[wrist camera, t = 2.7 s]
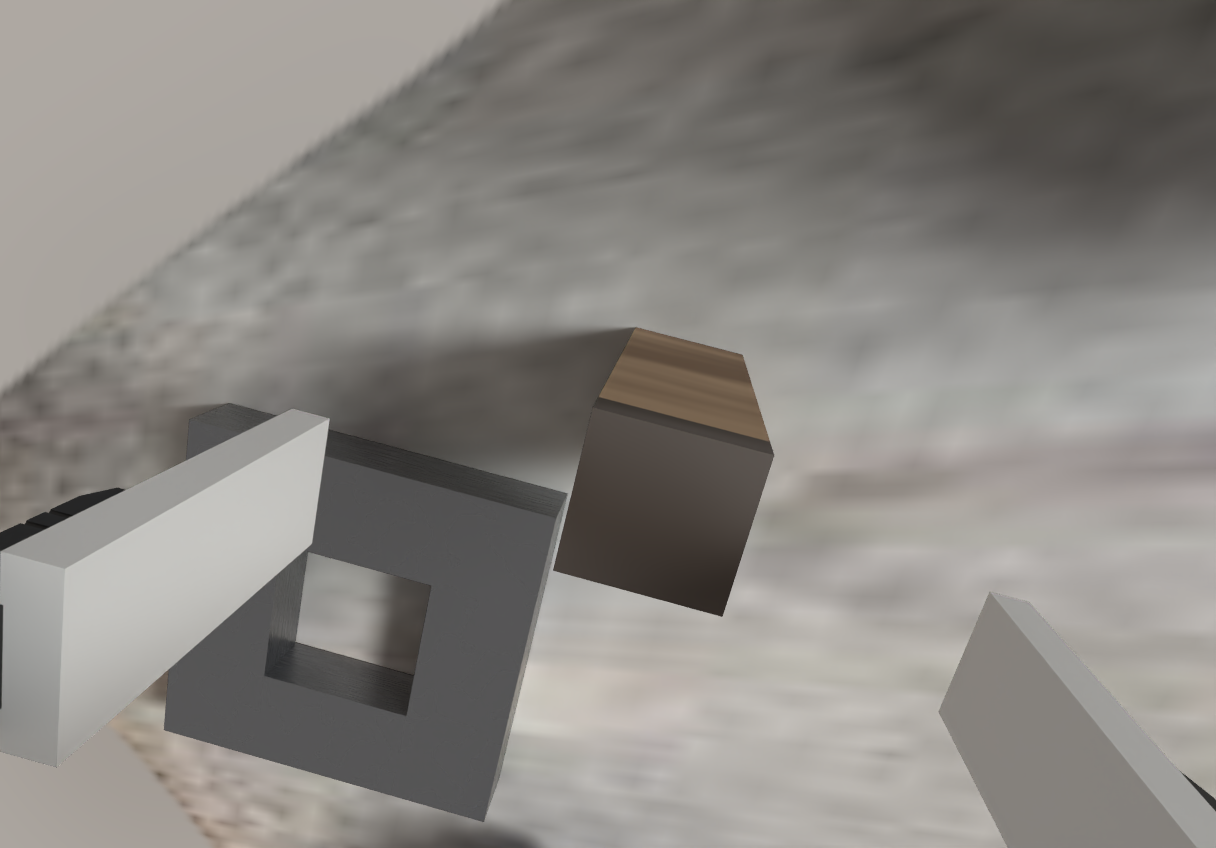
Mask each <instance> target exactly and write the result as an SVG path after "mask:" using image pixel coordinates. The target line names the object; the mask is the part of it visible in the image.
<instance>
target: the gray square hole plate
mask: <svg viewBox="0 0 1216 848" xmlns="http://www.w3.org/2000/svg"><path fill="white" fill-rule="evenodd" d="M274 417H276V416H275V415H272V414H268V413H264V412H260V411H257V410H253V409H249V408H245V407H242V406H238V405H234V404H230V403H228V404H226V405H223V406H221V407H219V408H216V409H214V410H211V411H209V412H206V413H204V414H202V415H199V416H197V417H194V418H192V419H189V431H188V443H187V455H186V460H188V459H190V458H192V457H194V456H196V455H198V454H200V453H202V452H205V451H207V450H209V449H211V448H213V447H215V446H217V445H219V444H221V443H223V442H225V441H227V440H229V439H231V438H233V437H235V436H237V435H239V434H241V433H243V432H245V431H247V430H250V429H252V428H254V427H256V426H258V425H260V424H262V423H264V422H266V421H268V420H270V419H272V418H274ZM566 498H567V494H566V493H563V492H559V491H555V490H552V489H548V488H544V487H540V486H537V485H533V484H529V483H525V482H522V481H518V480H514V479H510V478H507V477H503V476H499V475H496V474H492V473H488V472H484V471H481V470H477V469H473V468H469V467H466V466H462V465H458V464H454V463H451V462H447V461H443V460H440V459H436V458H432V457H428V456H425V455H421V454H417V453H413V452H410V451H406V450H402V449H398V448H395V447H391V446H387V445H384V444H380V443H376V442H372V441H369V440H365V439H361V438H357V437H354V436H350V435H346V434H342V433H339V432H335V431H331V430H328V434H327V441H326V448H325V455H324V462H323V469H322V476H321V483H320V490H319V497H318V504H317V511H316V518H315V525H314V533H313V540H312V544H311V545H310V546H309V547H308V548H307V549H305V550H304V551H303V552H302V553H301V554H300V555H299V556H297V557H296V558H295V559H294V560H293V561H292V562H291V563H289V564H288V565H287V566H286V567H285V568H284V569H283V570H281V571H280V572H279V573H278V574H277V575H276V576H275V577H273V578H272V579H271V580H270V581H269V582H268V583H267V584H265V585H264V586H263V587H262V588H261V589H260V590H259V591H257V592H256V593H255V594H254V595H253V596H252V597H251V598H250V599H248V600H247V601H246V602H245V603H244V604H243V605H242V606H240V607H239V608H238V609H237V610H236V611H235V612H234V613H232V614H231V615H230V616H229V617H228V618H227V619H226V620H224V621H223V622H222V623H221V624H220V625H219V626H218V627H216V628H215V629H214V630H213V631H212V632H211V633H210V634H208V635H207V636H206V637H205V638H204V639H203V640H202V641H200V642H199V643H198V644H197V645H196V646H195V647H194V648H192V649H191V650H190V651H189V652H188V653H187V654H186V655H184V656H183V657H182V658H181V659H180V660H179V661H178V662H177V663H175V664H174V665H173V666H172V667H171V668H170V669H169V674H168V686H167V698H166V711H165V723H164V730H166V731H169V732H173V733H176V734H179V735H183V736H186V737H190V738H193V739H197V740H200V741H204V742H207V743H211V744H214V745H218V746H221V747H225V748H228V749H232V750H235V751H239V752H242V753H246V754H249V755H252V756H256V757H259V758H263V759H266V760H270V761H273V762H277V763H280V764H284V765H287V766H291V767H294V768H298V769H301V770H305V771H308V772H312V773H315V774H319V775H322V776H326V777H329V778H332V779H336V780H339V781H343V782H346V783H350V784H353V785H357V786H360V787H364V788H367V789H371V790H374V791H378V792H381V793H385V794H388V795H392V796H395V797H399V798H402V799H405V800H409V801H412V802H416V803H419V804H423V805H426V806H430V807H433V808H437V809H440V810H444V811H447V812H451V813H454V814H458V815H461V816H465V817H468V818H472V819H475V820H479V821H482V822H484V820H485V817H486V814H487V811H488V809H489V806H490V803H491V800H492V797H493V794H494V791H495V789H496V786H497V783H498V780H499V776H500V772H501V768H502V764H503V760H504V755H505V751H506V747H507V743H508V739H509V735H510V730H511V726H512V722H513V718H514V714H515V710H516V706H517V701H518V697H519V693H520V689H521V685H522V681H523V677H524V672H525V668H526V664H527V660H528V656H529V652H530V647H531V643H532V639H533V635H534V631H535V627H536V623H537V618H538V614H539V610H540V606H541V602H542V598H543V593H544V589H545V585H546V581H547V577H548V573H549V569H550V564H551V560H552V556H553V552H554V548H555V544H556V539H557V535H558V531H559V527H560V523H561V519H562V515H563V510H564V506H565V502H566ZM308 552H311V553H315V554H318V555H322V556H325V557H329V558H333V559H336V560H340V561H344V562H347V563H351V564H355V565H358V566H362V567H365V568H369V569H373V570H376V571H380V572H384V573H387V574H391V575H395V576H398V577H402V578H405V579H409V580H413V581H416V582H420V583H424V584H427V585H431V591H430V596H429V601H428V606H427V612H426V617H425V622H424V627H423V632H422V638H421V643H420V648H419V653H418V658H417V664H416V669H415V674H414V676H413V675H410V674H406V673H402V672H399V671H395V670H392V669H388V668H385V667H381V666H377V665H374V664H370V663H367V662H363V661H360V660H356V659H352V658H349V657H345V656H342V655H338V654H335V653H331V652H328V651H324V650H320V649H317V648H313V647H310V646H306V645H303V644H299V643H295V641H296V634H297V626H298V619H299V612H300V604H301V597H302V590H303V582H304V575H305V568H306V561H307V553H308Z"/></svg>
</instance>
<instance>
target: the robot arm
mask: <svg viewBox="0 0 1216 848" xmlns="http://www.w3.org/2000/svg"><path fill="white" fill-rule="evenodd" d="M329 420H330V418H326V417H323V416H319V415H315V414H311V413H307V412H303V411H300V410H296V409H290V410H288V411H286V412H284V413H282V414H280V415H278V416H276V417H274V418H272V419H270V420H268V421H266V422H264V423H262V424H260V425H258V426H256V427H254V428H252V429H250V430H247V431H245V432H243V433H241V434H239V435H237V436H235V437H233V438H231V439H229V440H227V441H225V442H223V443H221V444H219V445H217V446H215V447H213V448H211V449H209V450H207V451H205V452H202V453H200V454H198V455H196V456H194V457H192V458H190V459H188V460H186V461H184V462H182V463H180V464H178V465H176V466H174V467H172V468H170V469H168V470H166V471H164V472H162V473H160V474H158V475H155V476H153V477H151V478H149V479H147V480H145V481H143V482H141V483H139V484H137V485H135V486H133V487H131V488H129V489H127V490H124V489H120V488H114V489H109V490H105V491H100V492H96V493H91V494H86V495H82V496H79V497H76V498H74V499H72V500H70V501H68V502H66V503H63V504H61V505H59V506H57V507H55V508H53V509H51V511H50V512H49V513H47V512H44V513H42V514H40V515H38V516H35V517H33V518H31V519H29V520H27V521H26V523H25V525H24V524H21V523H20V524H18V525H16V526H14V527H12V528H9V529H7V530H5V531H3V532H1V533H0V752H3V753H6V754H10V755H14V756H17V757H21V758H24V759H28V760H31V761H35V762H38V763H42V764H46V765H50V766H53V767H58V766H59V765H60V764H61V763H62V762H64V761H65V760H66V759H67V758H68V757H69V756H70V755H72V754H73V753H74V752H75V751H76V750H77V749H78V748H80V747H81V746H82V745H83V744H84V743H85V742H86V741H88V739H90V738H91V737H92V736H93V735H94V734H96V733H97V732H98V731H99V730H100V729H101V728H102V727H104V726H105V725H106V724H107V723H108V722H109V721H110V720H111V719H113V718H114V717H115V716H116V715H117V714H118V713H119V712H121V711H122V710H123V709H124V708H125V707H126V706H127V705H129V704H130V703H131V702H132V701H133V700H134V699H135V698H137V697H138V696H139V695H140V694H141V693H142V692H143V691H145V690H146V689H147V688H148V687H149V686H150V685H151V684H153V683H154V682H155V681H156V680H157V679H158V678H159V677H161V676H162V675H163V674H164V673H165V672H166V671H167V670H169V669H170V668H171V667H172V666H173V665H174V664H175V663H177V662H178V661H179V660H180V659H181V658H182V657H183V656H184V655H186V654H187V653H188V652H189V651H190V650H191V649H192V648H194V647H195V646H196V645H197V644H198V643H199V642H200V641H202V640H203V639H204V638H205V637H206V636H207V635H208V634H210V633H211V632H212V631H213V630H214V629H215V628H216V627H218V626H219V625H220V624H221V623H222V622H223V621H224V620H226V619H227V618H228V617H229V616H230V615H231V614H232V613H234V612H235V611H236V610H237V609H238V608H239V607H240V606H242V605H243V604H244V603H245V602H246V601H247V600H248V599H250V598H251V597H252V596H253V595H254V594H255V593H256V592H257V591H259V590H260V589H261V588H262V587H263V586H264V585H265V584H267V583H268V582H269V581H270V580H271V579H272V578H273V577H275V576H276V575H277V574H278V573H279V572H280V571H281V570H283V569H284V568H285V567H286V566H287V565H288V564H289V563H291V562H292V561H293V560H294V559H295V558H296V557H297V556H299V555H300V554H301V553H302V552H303V551H304V550H305V549H307V548H308V547H309V546H310V545H311V544H312V540H313V533H314V525H315V518H316V511H317V504H318V497H319V490H320V483H321V476H322V469H323V462H324V455H325V448H326V441H327V434H328V427H329ZM939 714H940V716H941V717H942V719H943V721H944V723H945V725H946V727H947V729H948V731H949V733H950V735H951V737H952V739H953V741H954V743H955V745H956V747H957V749H958V751H959V753H960V755H961V757H962V759H963V761H964V763H965V765H966V766H967V768H968V770H969V772H970V774H971V776H972V778H973V780H974V782H975V784H976V786H977V788H978V790H979V792H980V794H981V796H982V798H983V800H984V802H985V804H986V806H987V808H988V810H989V812H990V814H991V816H992V817H993V819H994V821H995V823H996V825H997V827H998V829H999V831H1000V833H1001V835H1002V837H1003V839H1004V841H1005V843H1006V845H1007V847H1008V848H1216V800H1215V799H1214V798H1213V797H1212V796H1211V795H1210V794H1208V793H1207V792H1206V791H1205V790H1203V789H1202V788H1201V787H1199V786H1198V785H1197V784H1196V783H1194V782H1193V781H1192V780H1191V779H1189V778H1188V777H1187V776H1186V775H1184V774H1183V773H1182V772H1180V771H1179V770H1178V769H1177V767H1176V766H1175V765H1174V764H1173V763H1172V762H1171V761H1170V760H1169V758H1168V757H1167V756H1166V755H1165V754H1164V753H1163V752H1162V751H1161V749H1160V748H1159V747H1158V746H1157V745H1156V744H1155V743H1154V742H1153V740H1152V739H1151V738H1150V737H1149V736H1148V735H1147V734H1146V733H1145V731H1144V730H1143V729H1142V728H1141V727H1140V726H1139V725H1138V724H1137V722H1136V721H1135V720H1134V719H1133V718H1132V717H1131V716H1130V715H1129V713H1128V712H1127V711H1126V710H1125V709H1124V708H1123V707H1122V706H1121V704H1120V703H1119V702H1118V701H1117V700H1116V699H1115V698H1114V697H1113V696H1112V694H1111V693H1110V692H1109V691H1108V690H1107V689H1106V688H1105V687H1104V685H1103V684H1102V683H1101V682H1100V681H1099V680H1098V679H1097V678H1096V676H1095V675H1094V674H1093V673H1092V672H1091V671H1090V670H1089V669H1088V667H1087V666H1086V665H1085V664H1084V663H1083V662H1082V661H1081V660H1080V658H1079V657H1078V656H1077V655H1076V654H1075V653H1074V652H1073V651H1072V649H1071V648H1070V647H1069V646H1068V645H1067V644H1066V643H1065V642H1064V640H1063V639H1062V638H1061V637H1060V636H1059V635H1058V634H1057V633H1056V631H1055V630H1054V629H1053V628H1052V627H1051V626H1050V625H1049V624H1048V622H1047V621H1046V620H1045V619H1044V618H1043V617H1042V616H1041V615H1040V613H1039V612H1038V611H1037V610H1036V609H1035V608H1034V607H1033V606H1032V604H1031V603H1030V602H1027V601H1023V600H1019V599H1016V598H1012V597H1008V596H1004V595H1000V594H997V593H993V592H989V595H988V597H987V599H986V602H985V604H984V606H983V609H982V611H981V613H980V616H979V618H978V621H977V623H976V625H975V628H974V630H973V632H972V635H971V637H970V639H969V642H968V644H967V646H966V649H965V651H964V653H963V656H962V658H961V660H960V663H959V665H958V667H957V670H956V672H955V674H954V677H953V679H952V681H951V684H950V686H949V688H948V691H947V693H946V695H945V698H944V700H943V703H942V705H941V707H940V710H939Z"/></svg>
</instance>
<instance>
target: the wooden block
mask: <svg viewBox="0 0 1216 848" xmlns="http://www.w3.org/2000/svg"><path fill="white" fill-rule="evenodd" d="M773 457H774V453H773V450H772V447H771V444H770V440H769V437H768V434H767V431H766V428H765V425H764V421H763V418H762V415H761V412H760V409H759V406H758V403H757V399H756V396H755V393H754V390H753V387H752V384H751V380H750V377H749V374H748V371H747V368H746V365H745V361H744V358H743V355H741V354H737V353H733V352H730V351H726V350H722V349H718V348H714V347H710V346H706V345H702V344H699V343H695V342H691V341H687V340H683V339H679V338H675V337H671V336H668V335H664V334H660V333H656V332H652V331H648V330H644V329H640V328H635V330H634V331H633V333H632V335H631V337H630V339H629V341H628V343H627V345H626V346H625V348H624V350H623V352H622V354H621V356H620V358H619V359H618V361H617V363H616V365H615V367H614V369H613V371H612V372H611V374H610V376H609V378H608V380H607V382H606V384H605V385H604V387H603V389H602V391H601V393H600V395H599V397H598V398H597V400H596V402H595V404H594V406H593V408H592V412H591V416H590V421H589V425H588V429H587V433H586V437H585V441H584V445H583V449H582V454H581V458H580V462H579V466H578V470H577V474H576V478H575V482H574V486H573V491H572V495H571V499H570V503H569V507H568V511H567V515H566V519H565V524H564V528H563V532H562V536H561V540H560V544H559V548H558V552H557V557H556V561H555V565H554V569H553V571H557V572H560V573H564V574H568V575H571V576H575V577H579V578H582V579H586V580H590V581H593V582H597V583H601V584H604V585H608V586H612V587H615V588H619V589H623V590H626V591H630V592H634V593H637V594H641V595H645V596H648V597H652V598H656V599H659V600H663V601H667V602H670V603H674V604H678V605H681V606H685V607H689V608H692V609H696V610H700V611H703V612H707V613H711V614H714V615H718V616H723V613H724V610H725V607H726V604H727V601H728V598H729V595H730V591H731V588H732V585H733V582H734V579H735V576H736V573H737V570H738V567H739V563H740V560H741V557H742V554H743V551H744V548H745V545H746V542H747V538H748V535H749V532H750V529H751V526H752V523H753V520H754V517H755V514H756V510H757V507H758V504H759V501H760V498H761V495H762V492H763V489H764V485H765V482H766V479H767V476H768V473H769V470H770V467H771V464H772V461H773Z"/></svg>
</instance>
